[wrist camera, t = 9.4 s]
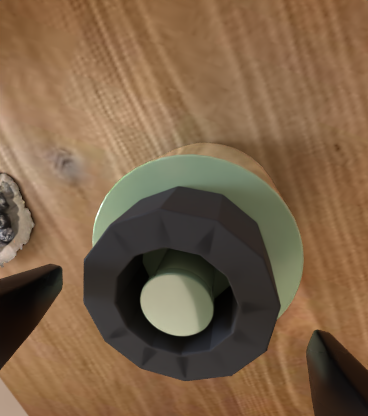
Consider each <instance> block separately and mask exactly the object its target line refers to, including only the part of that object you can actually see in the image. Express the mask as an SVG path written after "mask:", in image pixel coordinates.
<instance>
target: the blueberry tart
mask: <svg viewBox="0 0 368 416" xmlns="http://www.w3.org/2000/svg"><path fill="white" fill-rule="evenodd" d="M19 193H20V192H19V188H18V186H17V184H16V183H13V178H10V176H7V174H5V173H4V174H0V266H1V267H4V266H3V263H4V262H5V263H8V262H9V261H10V260H12V258H13V257H14V256H16V251H17V250H18V249H19V248H20V249H21V250H22V244H26V242H28V240H29V239H30V238H29V236H30V233H31V229H32V228H33V227H34V225H35V224H33V222H32V221H33V220H32V219H31V217H30V216H31V215H30V214H31V212H29V210H28V208H27V209H26V208H24V206H25V205H24V204H23V203H25V201H22V196H21V194H19ZM14 241H15V243H14Z"/></svg>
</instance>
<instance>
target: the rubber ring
mask: <svg viewBox="0 0 368 416" xmlns="http://www.w3.org/2000/svg"><path fill="white" fill-rule="evenodd" d="M164 247H166V248H170V249H175V250H179V251H184V252H188V253H193V254H198V255H201V256H202V257H203V258H204V259H205V260H207V261H208V262H209V263H210V264H212V265H213V266H214V267H215V268H217V269H218V270H219V271H220V272H222V273H223V274H224V275H225V276H226V277H227V278H228V281H229V283H230V286H229V287H228V288H226V289H225V290H224V291H223V292H222V293H221V294H220V295H219V296H218V297H216V298H214V312H213V317H212V320H211V322H210V323H209V325H208V326H207V327H206V328H205V329H204V330H202V331H201V332H199V333H197V334H194V335H190V336H175V335H170V334H167V333H165V332H162V331H161V330H159V329H157V328H156V327H155V326H153V325H152V324H151V323H150V322H149V321H148V319H147V318H146V317H145V315H144V313H143V311H142V308H141V304H140V295H141V291H142V289H143V287H144V285H145V283H146V281H147V280H148V279H149V275H148V273H147V271H146V269H145V267H144V264H143V253H147V252H150V251H154V250H157V249H161V248H164ZM83 301H84V305H85V306H86V308H87V310H88V312H89V314H90V315H91V317H92V319H93V321H94V323H95V324H96V326H97V328H98V330H99V332H100V333H101V335H102V337H103V339H104V340H105V342H107V343H108V344H109V345H111V346H112V347H113V348H115V349H116V350H117V351H119V352H120V353H121V354H122V355H124V356H125V357H126V358H128V359H129V360H130V361H132V362H133V363H134V364H136V365H137V366H138V367H139V368H141V369H144V370H148V371H151V372H155V373H158V374H162V375H165V376H169V377H172V378H176V379H179V380H183V381H191V380H200V379H208V378H216V377H225V376H232V375H233V374H235V373H236V372H238V371H239V370H240V369H242V368H243V367H245V366H246V365H247V364H249V363H250V362H252V361H253V360H254V359H256V358H257V357H259V356H260V355H262V354H263V353H264V352H266V351H267V348H268V345H269V342H270V339H271V336H272V333H273V330H274V327H275V324H276V321H277V318H278V315H279V312H280V309H281V304H280V299H279V295H278V291H277V287H276V283H275V279H274V275H273V270H272V266H271V262H270V259H269V256H268V253H267V250H266V247H265V244H264V241H263V238H262V235H261V232H260V229H259V226H258V224H257V222H256V221H254V220H253V219H252V218H251V217H250V216H248V215H247V214H246V213H245V212H244V211H242V210H241V209H240V208H239V207H238V206H236V205H235V204H234V203H233V202H232V201H230V200H229V199H228V198H227V197H226V196H224V195H223V194H219V193H214V192H209V191H203V190H198V189H193V188H187V187H182V186H177V187H174V188H171V189H168V190H166V191H163V192H160V193H157V194H154V195H151V196H149V197H146V198H143V199H141V200H139V201H138V202H137V203H136V204H134V205H133V206H132V207H131V208H129V209H128V210H127V211H126V212H125V213H123V214H122V215H121V216H120V217H119V218H117V219H116V220H115V221H114V222H112V223H111V224H110V225H109V226H108V228H107V229H106V230H105V232H104V233H103V234H102V236H101V237H100V239H99V240H98V241H97V243H96V244H95V245H94V247H93V248H92V249H91V251H90V252H89V253H88V255H87V256H86V258H85V259H84V298H83Z"/></svg>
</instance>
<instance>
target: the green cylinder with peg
mask: <svg viewBox="0 0 368 416" xmlns="http://www.w3.org/2000/svg"><path fill="white" fill-rule="evenodd" d="M177 186H182V187H187V188H193V189H198V190H203V191H209V192H214V193H219V194H223V195H224V196H226V197H227V198H228V199H229V200H230V201H232V202H233V203H234V204H235V205H236V206H238V207H239V208H240V209H241V210H242V211H244V212H245V213H246V214H247V215H248V216H250V217H251V218H252V219H253V220H254V221H256V222H257V224H258V226H259V229H260V232H261V235H262V238H263V241H264V244H265V247H266V250H267V253H268V256H269V259H270V262H271V266H272V270H273V275H274V279H275V283H276V287H277V291H278V295H279V299H280V304H281V309H280V312H279V315H278V318H279V317H280V316H281V315H282V314H283V313H284V312H285V310H286V309H287V308H288V306H289V305H290V303H291V302H292V300H293V299H294V296H295V294H296V292H297V290H298V287H299V285H300V281H301V277H302V273H303V263H304V254H303V244H302V239H301V235H300V231H299V229H298V226H297V223H296V221H295V218H294V217H293V215H292V213H291V211H290V210H289V208H288V206H287V204H286V203H285V201H284V199H283V198H282V196H281V194H280V193H279V191H278V189H277V188H276V186H275V184H274V183H273V181H272V179H271V178H270V176H269V175H268V174H267V172H266V171H265V170H264V168H263V167H262V166H261V165H260V164H259V163H257V162H256V161H255V160H254V159H253V158H251V157H250V156H248V155H247V154H245V153H243V152H241V151H240V150H238V149H235V148H232V147H230V146H226V145H222V144H217V143H195V144H189V145H185V146H182V147H179V148H177V149H174V150H172V151H170V152H168V153H166V154H164V155H162V156H160V157H157V158H155V159H153V160H151V161H149V162H147V163H145V164H143V165H141V166H139V167H136V168H135V169H133V170H132V171H130V172H129V173H127V174H126V175H125V176H123V177H122V178H121V179H120V180H119V181H118V182H117V183H116V184H115V185H114V186H113V187H112V189H111V190H110V191H109V192H108V194H107V195H106V197H105V199H104V200H103V202H102V204H101V206H100V208H99V211H98V213H97V216H96V220H95V224H94V228H93V239H92V241H93V247H94V245H95V244H96V243H97V241H98V240H99V239H100V237H101V236H102V234H103V233H104V232H105V230H106V229H107V228H108V226H109V225H110V224H111V223H112V222H114V221H115V220H116V219H117V218H119V217H120V216H121V215H122V214H123V213H125V212H126V211H127V210H128V209H129V208H131V207H132V206H133V205H134V204H136V203H137V202H138V201H139V200H141V199H143V198H146V197H149V196H151V195H154V194H157V193H160V192H163V191H166V190H168V189H171V188H174V187H177ZM143 264H144V267H145V269H146V271H147V273H148V275H149V279H148V280H147V281H146V283H145V285H144V287H143V289H142V291H141V295H140V304H141V308H142V311H143V313H144V315H145V317H146V318H147V319H148V321H149V322H150V323H151V324H152V325H153V326H155V327H156V328H157V329H159V330H161V331H162V332H165V333H167V334H170V335H175V336H190V335H194V334H197V333H199V332H201V331H202V330H204V329H205V328H206V327H207V326H208V325H209V323H210V322H211V320H212V317H213V312H214V298H216V297H218V296H219V295H220V294H221V293H222V292H223V291H224V290H225V289H226V288H228V287H229V286H230V283H229V281H228V278H227V277H226V276H225V275H224V274H223V273H222V272H220V271H219V270H218V269H217V268H215V267H214V266H213V265H212V264H210V263H209V262H208V261H207V260H205V259H204V258H203V257H202V256H201V255H198V254H193V253H188V252H184V251H179V250H175V249H170V248H166V247H164V248H161V249H157V250H154V251H150V252H147V253H143ZM278 318H277V319H278Z"/></svg>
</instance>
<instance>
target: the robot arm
mask: <svg viewBox="0 0 368 416" xmlns="http://www.w3.org/2000/svg"><path fill="white" fill-rule="evenodd" d="M62 285H63V279H62V267H61V266H58V265H54V264H48V265H45V266H41V267H38V268H35V269H32V270H28V271H25V272H22V273H18V274H15V275H12V276H9V277H5V278H2V279H0V370H1V368H2V367H3V366H4V365H5V364H6V362H7V361H8V360H9V359H10V358H11V356H12V355H13V354H14V353H15V352H16V350H17V349H18V348H19V347H20V346H21V344H22V343H23V342H24V341H25V340H26V338H27V337H28V336H29V335H30V334H31V332H32V331H33V330H34V329H35V327H36V326H37V325H38V323H39V322H40V320H41V319H42V318H43V316H44V315H45V313H46V312H47V310H48V309H49V307H50V306H51V304H52V303H53V302H54V300H55V299H56V297H57V296H58V294H59V293H60V291H61V289H62ZM306 357H307V365H308V373H309V381H310V388H311V396H312V403H313V409H314V414H315V416H368V370H367V369H366V368H365V367H364V366H363V365H362V364H361V363H360V362H359V361H358V360H357V359H356V358H355V357H354V356H353V355H352V354H351V353H350V352H349V351H348V350H347V349H345V348H344V347H343V346H342V345H341V344H340V343H339V342H338V341H337V340H336V339H335V338H334V337H333V336H332V335H331V334H330V333H329V332H325V331H321V330H315V331H314V332H313V334H312V337H311V339H310V342H309V344H308V347H307V351H306Z"/></svg>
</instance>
